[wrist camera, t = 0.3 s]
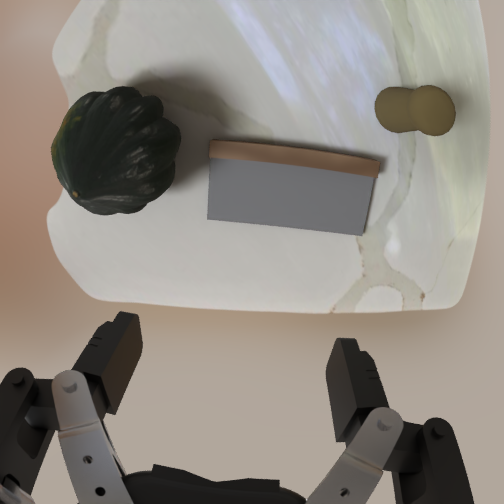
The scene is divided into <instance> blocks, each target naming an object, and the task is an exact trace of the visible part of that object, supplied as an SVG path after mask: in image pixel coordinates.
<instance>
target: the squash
mask: <svg viewBox="0 0 504 504" xmlns="http://www.w3.org/2000/svg"><path fill="white" fill-rule="evenodd" d="M162 116H163V105H162V102H161V100H160V99H159V98H158V97H156V96H144V97H142V96H141V94H140V93H139V91H137V90H136V89H135V88H133V87H125V86H121V87H115V88H113V89H110V90H109V91H107V92H90V93H87V94H86V95H84V96H82V97H81V98H80V99H78V100H77V101H76V102H75V104H74V105H72V107H71V108H70V109H69V110H68V112H67V114H66V116H65V118H64V119H63V122H62V125H61V127H60V129H59V131H58V133H57V135H56V137H55V138H54V141H53V143H52V146H51V155H52V161H53V165H54V168H55V170H56V172H57V177H58V179H59V181H60V183H61V185H62V186H63V187H64V188H65V189H66V190H67V192H68V194H69V195H70V197H71V198H72V199H73V200H74V201H75V202H76V203H77V204H78V205H80V206H82V207H84V208H85V209H86V210H88V211H90V212H91V213H94V214H99V215H113V214H116V213H124V214H131V213H135V212H138V211H140V210H142V209H143V208H144V207H145V206H146V205H147V203H149V202H151V201H153V200H155V199H157V198H158V197H160V196H161V195H162V194H163V193H164V192H165V191H166V190H167V189H168V188H169V187H170V185H171V183H172V182H173V179H174V174H175V163H174V158H175V155H176V153H177V151H178V148H179V145H180V142H181V135H180V130H179V128H178V127H177V126H176V125H175V124H174V123H172V122H171V121H170V120H168V119H166V118H163V117H162Z"/></svg>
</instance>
